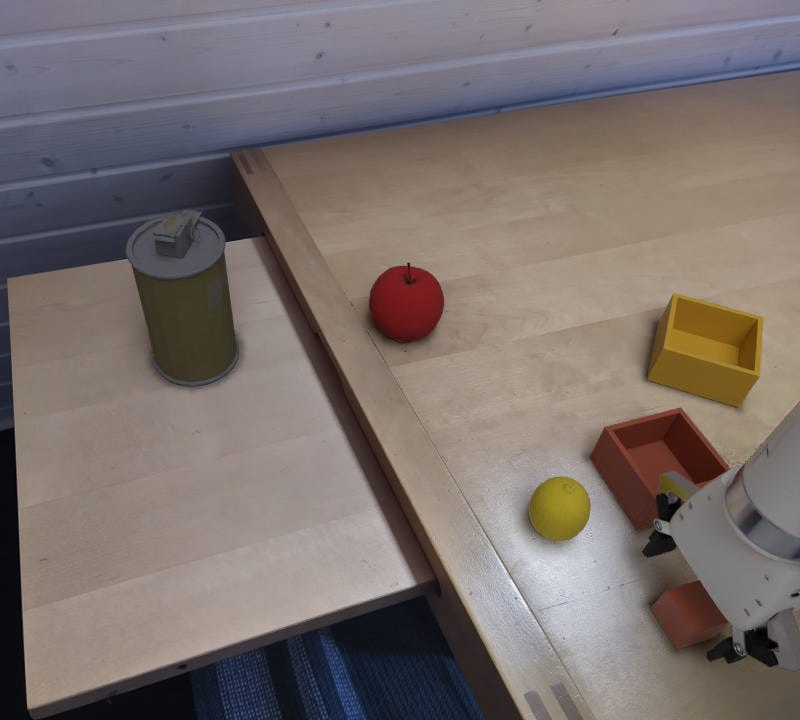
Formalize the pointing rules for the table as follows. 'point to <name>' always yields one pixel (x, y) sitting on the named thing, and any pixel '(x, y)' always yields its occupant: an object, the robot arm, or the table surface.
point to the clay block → (688, 615)
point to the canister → (185, 296)
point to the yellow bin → (707, 350)
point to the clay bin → (653, 460)
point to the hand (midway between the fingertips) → (687, 600)
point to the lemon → (559, 508)
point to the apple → (406, 303)
